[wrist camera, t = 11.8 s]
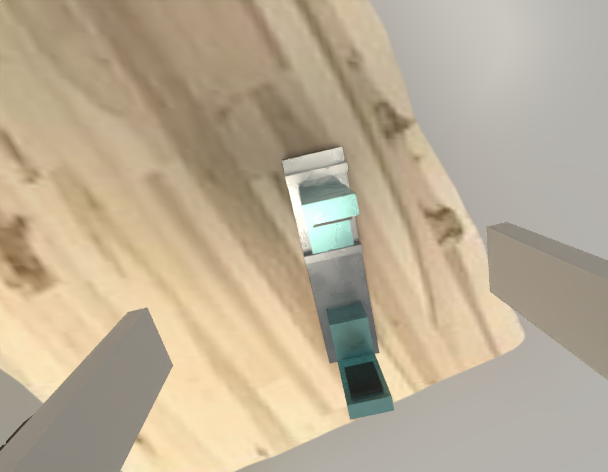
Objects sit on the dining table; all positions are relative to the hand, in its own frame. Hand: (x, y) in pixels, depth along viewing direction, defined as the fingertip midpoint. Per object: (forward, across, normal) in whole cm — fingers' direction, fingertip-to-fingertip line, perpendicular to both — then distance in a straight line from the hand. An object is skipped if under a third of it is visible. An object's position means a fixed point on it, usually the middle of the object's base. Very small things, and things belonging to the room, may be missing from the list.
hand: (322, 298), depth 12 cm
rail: (+22, +2, -8) cm, 24 cm away
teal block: (+20, +2, -2) cm, 20 cm away
